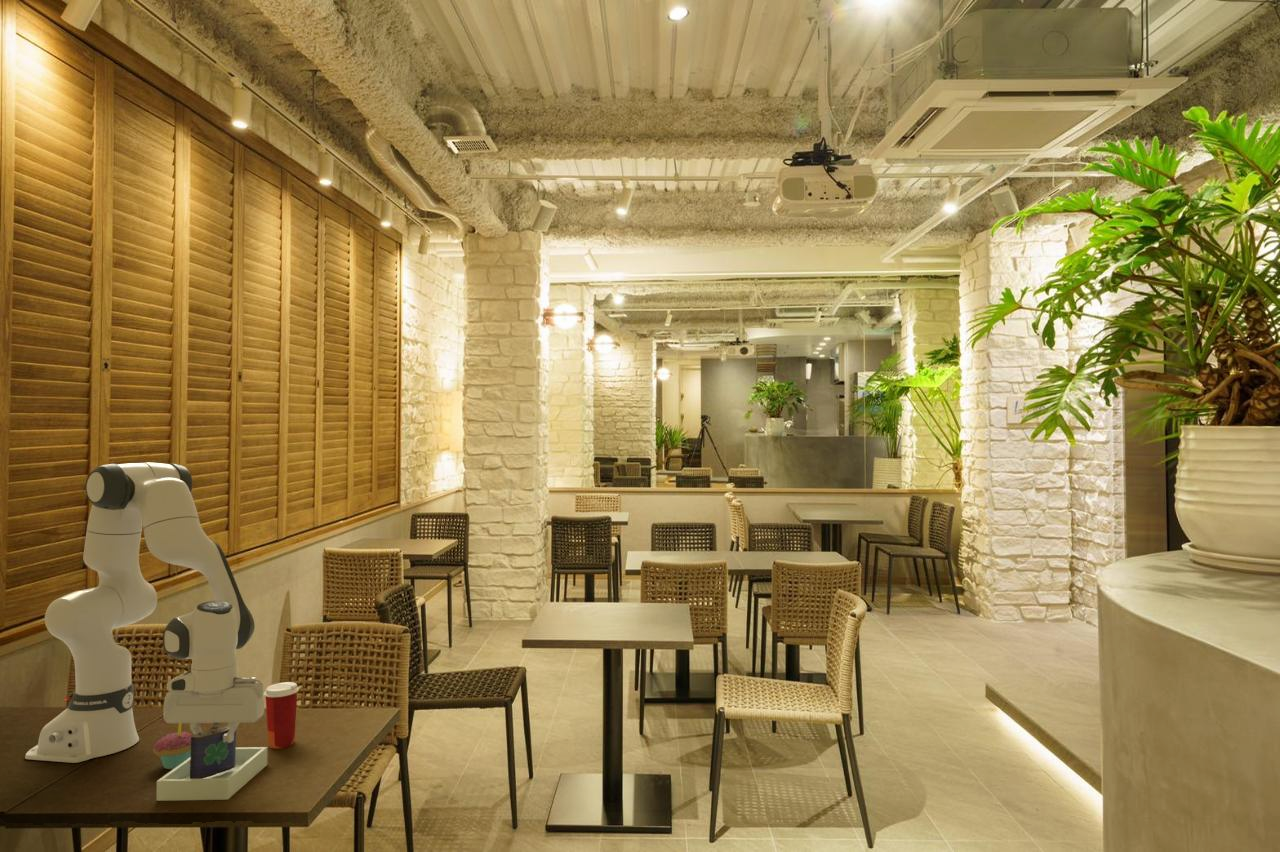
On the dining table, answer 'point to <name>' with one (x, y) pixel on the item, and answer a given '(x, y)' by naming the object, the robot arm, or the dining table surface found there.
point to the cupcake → (174, 748)
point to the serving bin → (212, 778)
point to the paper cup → (281, 714)
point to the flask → (211, 753)
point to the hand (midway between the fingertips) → (214, 742)
